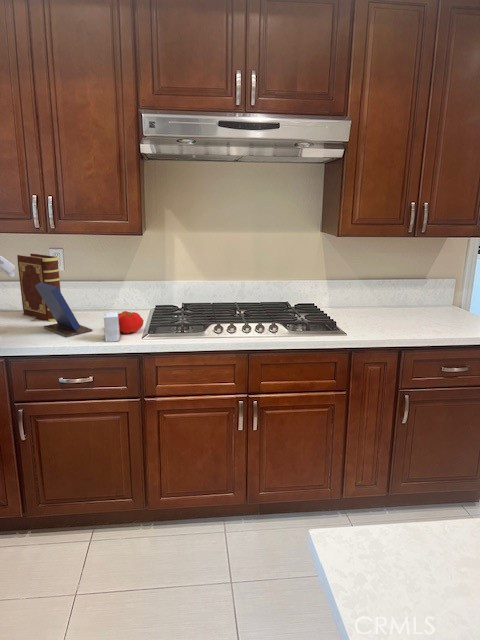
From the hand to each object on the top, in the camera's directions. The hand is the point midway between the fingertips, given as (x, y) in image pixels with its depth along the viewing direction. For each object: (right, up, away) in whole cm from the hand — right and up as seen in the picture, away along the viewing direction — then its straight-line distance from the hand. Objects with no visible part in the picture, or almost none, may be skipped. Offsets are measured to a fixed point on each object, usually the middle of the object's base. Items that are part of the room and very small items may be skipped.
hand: (12, 275), depth 183 cm
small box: (+36, -26, +11) cm, 46 cm away
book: (+14, -20, +23) cm, 33 cm away
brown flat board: (+13, -22, +23) cm, 34 cm away
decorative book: (-6, -17, +43) cm, 47 cm away
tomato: (+41, -23, +22) cm, 52 cm away
